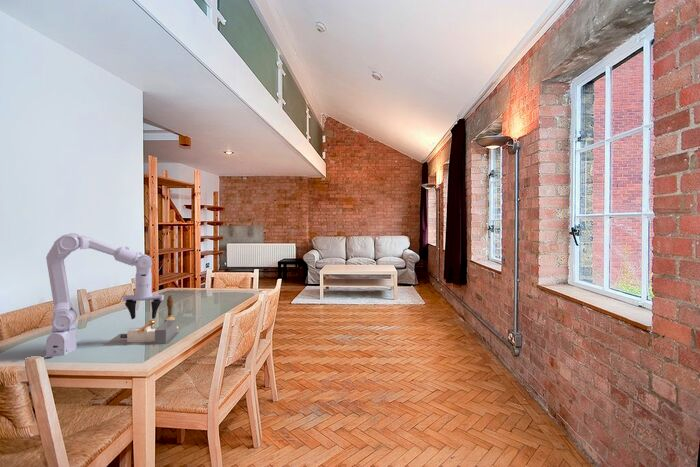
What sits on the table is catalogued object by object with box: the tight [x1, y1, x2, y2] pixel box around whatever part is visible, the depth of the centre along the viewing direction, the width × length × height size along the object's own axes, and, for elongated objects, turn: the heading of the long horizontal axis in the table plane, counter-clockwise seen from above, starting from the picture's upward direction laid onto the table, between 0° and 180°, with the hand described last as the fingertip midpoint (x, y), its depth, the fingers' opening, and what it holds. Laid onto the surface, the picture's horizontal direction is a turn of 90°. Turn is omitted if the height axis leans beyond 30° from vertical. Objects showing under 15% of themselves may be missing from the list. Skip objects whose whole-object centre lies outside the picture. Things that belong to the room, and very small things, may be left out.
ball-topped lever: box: [138, 319, 156, 333], centre depth 153 cm, size 15×2×1 cm, turn 10°
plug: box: [120, 326, 157, 343], centre depth 150 cm, size 4×17×5 cm, turn 100°
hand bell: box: [163, 294, 179, 330], centre depth 168 cm, size 8×8×16 cm
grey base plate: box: [102, 319, 180, 347], centre depth 153 cm, size 16×24×6 cm, turn 100°
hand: (143, 318), depth 150 cm, fingers open, 7 cm apart
